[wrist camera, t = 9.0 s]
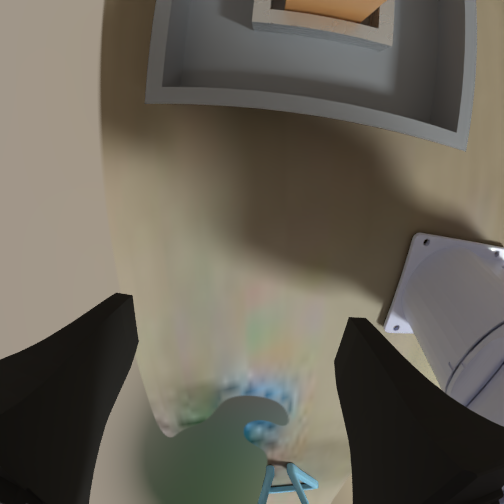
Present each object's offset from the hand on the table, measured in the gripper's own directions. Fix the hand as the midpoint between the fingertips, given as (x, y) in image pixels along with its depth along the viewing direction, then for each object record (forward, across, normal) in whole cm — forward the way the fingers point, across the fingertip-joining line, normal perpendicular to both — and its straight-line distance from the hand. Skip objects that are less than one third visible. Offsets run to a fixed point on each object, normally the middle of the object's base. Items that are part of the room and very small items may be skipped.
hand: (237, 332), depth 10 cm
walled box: (+10, -3, -15) cm, 18 cm away
